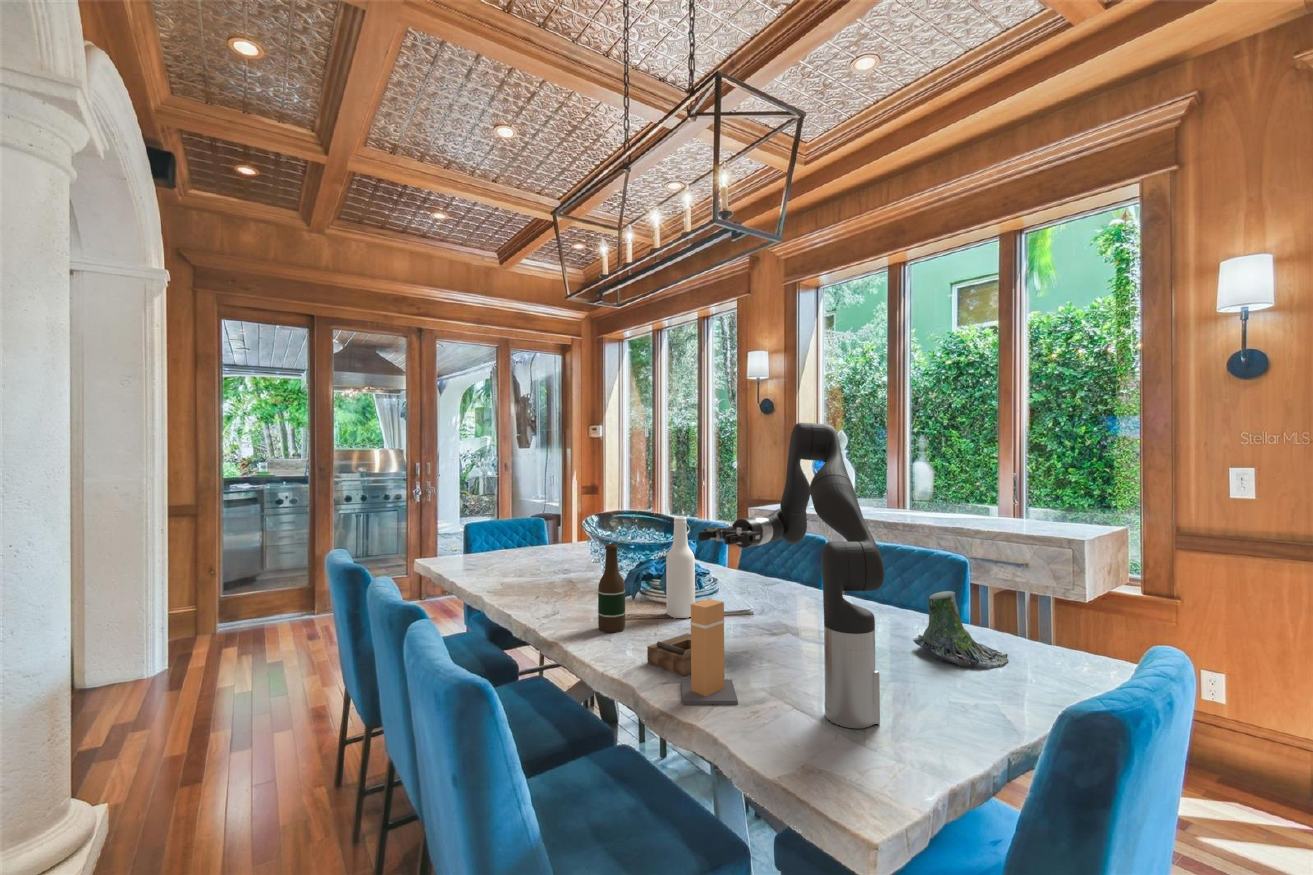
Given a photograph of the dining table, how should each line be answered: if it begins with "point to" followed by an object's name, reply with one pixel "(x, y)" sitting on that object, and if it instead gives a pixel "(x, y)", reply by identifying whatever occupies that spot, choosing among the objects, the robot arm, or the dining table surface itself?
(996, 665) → the tree stump
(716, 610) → the striped orange pillar
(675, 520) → the alcohol
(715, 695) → the pad
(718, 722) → the dining table surface
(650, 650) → the brown socket base
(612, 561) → the beer bottle
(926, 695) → the dining table surface
